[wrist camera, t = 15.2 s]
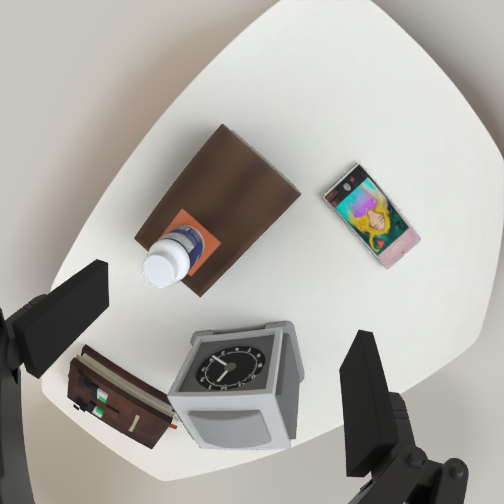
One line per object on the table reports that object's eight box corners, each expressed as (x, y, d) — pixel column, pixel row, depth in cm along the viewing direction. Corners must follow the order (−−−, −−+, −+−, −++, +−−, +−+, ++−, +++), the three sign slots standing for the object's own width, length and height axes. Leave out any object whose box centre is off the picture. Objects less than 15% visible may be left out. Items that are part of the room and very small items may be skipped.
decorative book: (158, 457, 62) (58, 396, 61) (167, 436, 69) (72, 378, 68) (181, 429, 55) (60, 354, 53) (191, 404, 62) (78, 335, 60)
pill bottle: (191, 268, 43) (164, 302, 34) (162, 244, 43) (128, 272, 34) (213, 241, 41) (188, 271, 32) (182, 215, 41) (150, 239, 32)
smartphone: (359, 161, 39) (422, 239, 41) (358, 161, 39) (420, 237, 41) (322, 196, 41) (387, 270, 43) (321, 195, 42) (386, 268, 44)
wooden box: (148, 228, 48) (133, 238, 43) (230, 125, 40) (221, 123, 36) (209, 282, 50) (199, 298, 45) (301, 188, 42) (301, 194, 37)
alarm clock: (292, 319, 50) (285, 403, 33) (305, 376, 54) (301, 457, 37) (191, 332, 54) (151, 404, 37) (213, 383, 58) (187, 455, 41)
